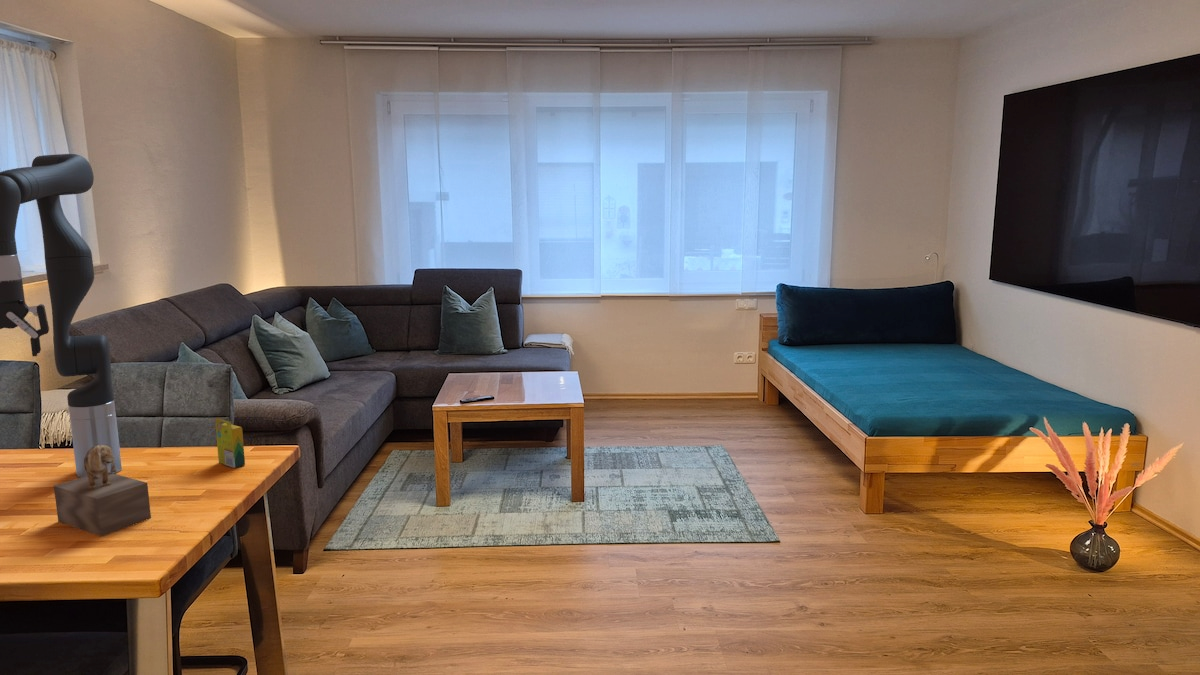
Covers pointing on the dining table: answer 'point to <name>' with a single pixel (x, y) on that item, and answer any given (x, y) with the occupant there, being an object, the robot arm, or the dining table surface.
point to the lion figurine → (99, 464)
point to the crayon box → (229, 444)
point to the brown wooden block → (102, 503)
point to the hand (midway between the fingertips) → (9, 358)
